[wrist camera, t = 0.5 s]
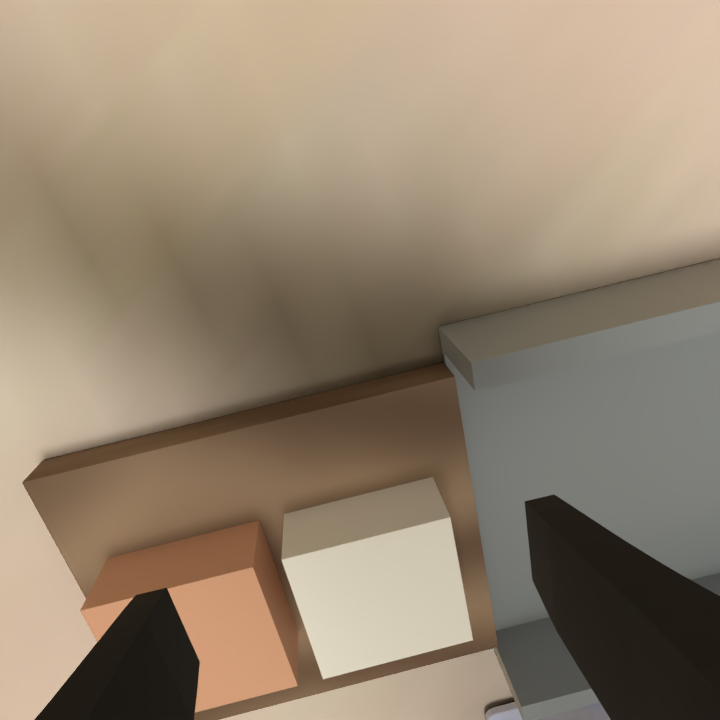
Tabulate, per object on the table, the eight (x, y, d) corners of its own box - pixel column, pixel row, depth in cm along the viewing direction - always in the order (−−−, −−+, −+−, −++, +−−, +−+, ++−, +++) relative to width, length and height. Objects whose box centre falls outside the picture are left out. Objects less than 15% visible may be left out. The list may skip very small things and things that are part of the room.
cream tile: (454, 590, 22) (473, 640, 19) (320, 625, 21) (323, 679, 19) (432, 476, 19) (450, 516, 17) (283, 514, 19) (281, 559, 17)
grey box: (809, 558, 25) (896, 623, 22) (490, 641, 25) (523, 722, 21) (856, 225, 19) (988, 235, 16) (437, 326, 19) (471, 362, 15)
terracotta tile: (298, 630, 21) (297, 686, 19) (162, 665, 21) (144, 725, 19) (258, 520, 19) (252, 567, 17) (107, 558, 19) (80, 610, 17)
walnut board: (487, 619, 24) (498, 646, 23) (169, 702, 24) (160, 734, 23) (443, 362, 19) (454, 376, 18) (42, 460, 19) (22, 482, 18)
